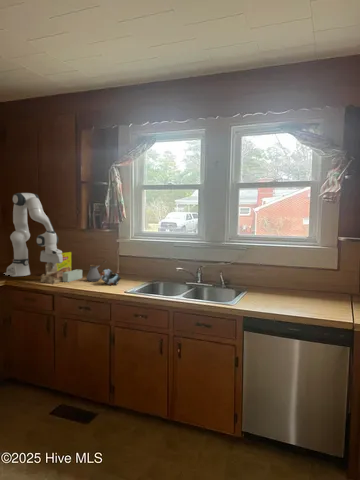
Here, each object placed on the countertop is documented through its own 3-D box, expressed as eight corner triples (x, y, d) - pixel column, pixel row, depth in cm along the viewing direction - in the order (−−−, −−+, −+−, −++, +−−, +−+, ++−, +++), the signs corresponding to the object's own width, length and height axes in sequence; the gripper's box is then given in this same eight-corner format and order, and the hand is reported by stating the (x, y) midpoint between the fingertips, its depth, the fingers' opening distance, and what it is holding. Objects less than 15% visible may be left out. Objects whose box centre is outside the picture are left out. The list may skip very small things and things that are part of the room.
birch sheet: (45, 281, 279) (45, 264, 277) (55, 278, 289) (55, 262, 287) (47, 281, 278) (47, 264, 277) (56, 279, 288) (56, 262, 287)
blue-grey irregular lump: (115, 286, 266) (106, 270, 263) (103, 290, 271) (94, 275, 268) (123, 277, 279) (115, 262, 276) (112, 281, 284) (103, 267, 281)
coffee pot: (94, 282, 277) (94, 264, 275) (83, 281, 282) (83, 262, 280) (111, 278, 295) (111, 260, 294) (100, 276, 301) (100, 259, 299)
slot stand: (62, 281, 279) (62, 272, 278) (77, 277, 296) (77, 269, 296) (67, 282, 277) (67, 273, 277) (82, 277, 294) (82, 269, 294)
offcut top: (51, 277, 276) (51, 273, 276) (57, 275, 286) (57, 270, 286) (57, 277, 276) (57, 273, 275) (63, 275, 285) (63, 271, 285)
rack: (40, 282, 276) (40, 274, 275) (56, 277, 293) (56, 270, 292) (53, 283, 271) (53, 276, 270) (69, 279, 288) (69, 272, 288)
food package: (56, 276, 297) (56, 253, 295) (55, 276, 298) (55, 253, 296) (71, 274, 309) (71, 252, 307) (71, 274, 310) (70, 251, 308)
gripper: (38, 250, 282) (38, 267, 283) (58, 252, 275) (58, 269, 276) (43, 249, 288) (44, 266, 289) (63, 251, 280) (64, 268, 282)
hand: (51, 267), depth 282 cm, fingers closed on birch sheet, 2 cm apart
